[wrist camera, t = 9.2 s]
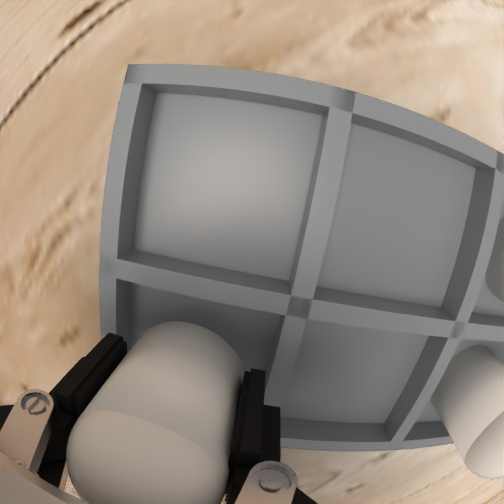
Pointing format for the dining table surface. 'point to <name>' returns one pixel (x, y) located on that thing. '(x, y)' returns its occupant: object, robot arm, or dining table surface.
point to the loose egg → (160, 422)
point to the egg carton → (304, 243)
